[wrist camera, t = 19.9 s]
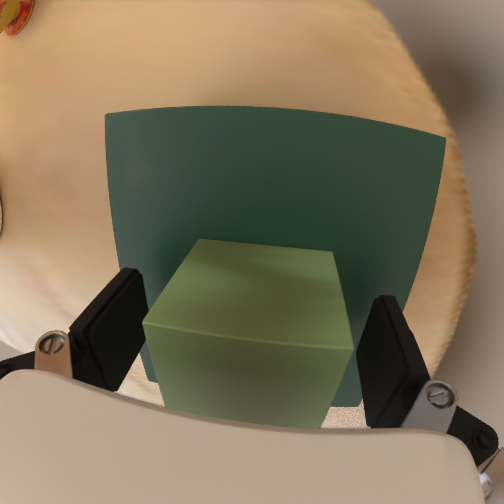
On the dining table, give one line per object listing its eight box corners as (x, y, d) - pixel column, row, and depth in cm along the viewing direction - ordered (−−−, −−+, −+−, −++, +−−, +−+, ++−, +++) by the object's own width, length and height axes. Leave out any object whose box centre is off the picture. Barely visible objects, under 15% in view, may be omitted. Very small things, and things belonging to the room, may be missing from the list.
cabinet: (342, 310, 23) (358, 407, 14) (191, 294, 24) (147, 381, 16) (376, 125, 16) (447, 138, 8) (186, 110, 18) (104, 114, 9)
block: (204, 336, 13) (170, 425, 9) (198, 237, 11) (141, 321, 7) (311, 349, 13) (312, 444, 8) (333, 250, 10) (355, 348, 6)
